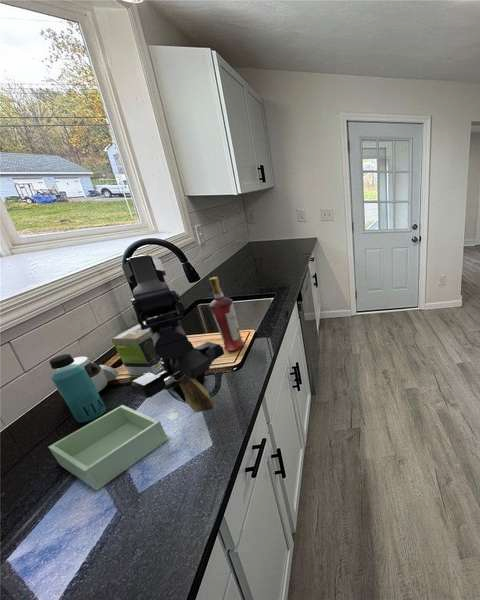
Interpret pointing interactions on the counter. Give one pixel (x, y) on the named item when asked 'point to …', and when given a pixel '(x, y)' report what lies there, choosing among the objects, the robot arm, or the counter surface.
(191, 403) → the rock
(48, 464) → the counter surface
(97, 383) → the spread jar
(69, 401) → the beverage bottle
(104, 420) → the shallow rectangular tray
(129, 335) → the tea box
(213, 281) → the liquor
